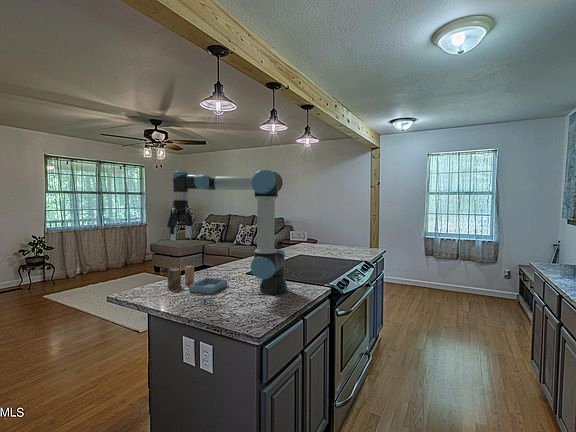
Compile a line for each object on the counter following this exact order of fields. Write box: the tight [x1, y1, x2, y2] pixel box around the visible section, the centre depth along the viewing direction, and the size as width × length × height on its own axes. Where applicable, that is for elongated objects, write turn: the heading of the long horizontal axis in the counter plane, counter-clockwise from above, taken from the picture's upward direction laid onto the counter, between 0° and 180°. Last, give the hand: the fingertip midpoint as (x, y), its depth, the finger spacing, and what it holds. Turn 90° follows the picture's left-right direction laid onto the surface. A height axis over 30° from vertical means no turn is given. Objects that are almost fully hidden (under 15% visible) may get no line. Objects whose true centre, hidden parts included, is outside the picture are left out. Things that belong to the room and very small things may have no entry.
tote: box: [188, 277, 228, 295], centre depth 176 cm, size 14×18×4 cm
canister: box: [184, 265, 195, 286], centre depth 185 cm, size 5×5×10 cm
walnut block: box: [167, 267, 182, 289], centre depth 178 cm, size 5×5×10 cm
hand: (180, 238), depth 173 cm, fingers open, 13 cm apart
